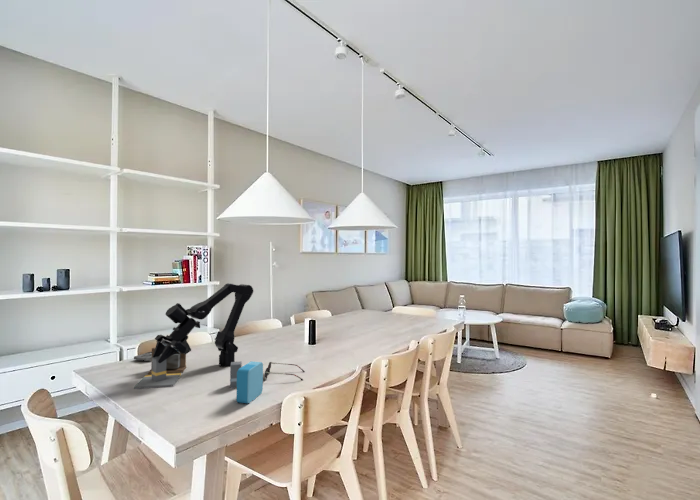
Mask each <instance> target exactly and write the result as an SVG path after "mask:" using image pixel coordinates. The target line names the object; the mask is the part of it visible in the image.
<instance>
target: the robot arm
mask: <svg viewBox="0 0 700 500" xmlns="http://www.w3.org/2000/svg"><path fill="white" fill-rule="evenodd" d="M232 293H234V303H233V305H232V307H231V310H230V313H229V315H228V318H227V320H226V323H225V326H224V328H223V329H222V330H221V331H217V333H216V336H215V337H214V344H215V345H214V346H215V347H216V348H217V351H219V352H220V353H219V355H218V365H219V367H230V365H231V362H236V361H235V360H236V358H235V357H236V355H235V354H236V353H237V352H238V350H239V347H238V346H237V345H236V344H235V343H234V342H235V330H236V328H237V325H238V323H239V320H240V317H241V315H242V312H243V309H244V306H245V304H246V303H247V302H248V301H249V300H250V299H251V297H252V295H253V293H254V288H253V286H252V285H250V284H243V283H241V284H234V283H225V284H224V285H223V286H222V287H221V288H220V289H219V290H217V291H216V292H214V293H213V294H212V295H210V296H209V297H208V298H207V299H205V300H203V301H200V302H197V303H196V304H194V305H192V306H191V307H190V308H187V309H186V308H184V307H183V306H182V304H181V303H176V304H174V305H172V306H171V307H169V308H168V309H167V310H166V312H165V314H164V315H165V316H166V317H168V318H169V319H170V320H171V321H172V322H173V323H174V324H178V325H177V326H176V327H175V326H174V327H173V328H172V332H171V333H170V334H169V335H168V334H166V336H165V335H164V334H163V335H162V334H157V336H156V337H155V338H154V340H156V343H155V344H156V345H155V347H154V348H155V351H154V354H153V357H158V356H160V355H161V356H160V358H159V360H158V363H161V362H163V361H164V360H166V359H167V358H169V357H170V356H172V355H174V354H180V353H181V354H184V355H186V356H187V354H188V353H190V352H192V348H191V346H190V344H189V342H188V339H189V334H190V333H191V332H192V331H193V329H194V328H197V329H201V320H204V319H205V318H207V317H208V315H209V314H210V313H211V311H212V310H213V308H214V307H216V306H217V305H218V304H220V302H222V301H223V300H224V299H225V298H226V297H228V296H229V295H231V294H232ZM195 319H196V320H197V321H196V320H195ZM198 320H200V321H198ZM179 352H180V353H179ZM153 357H152V358H153Z"/></svg>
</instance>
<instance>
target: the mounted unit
mask: <svg viewBox="0 0 700 500" xmlns="http://www.w3.org/2000/svg"><path fill="white" fill-rule="evenodd" d="M151 351H152V357H153V354H154V351H155V347H152V348H151ZM179 353H180V352H179ZM160 356H161V355H160ZM150 366H151V368H150V369H149V370H148V372H147V375H152V364H151V365H150ZM186 368H187V354H186V355H184V354H181V353H180V354H174V355H172V356H170V357H169V358H167V359H166V374H175V373H181V374H182V373H184V371H185V370H186Z"/></svg>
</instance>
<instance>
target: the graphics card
mask: <svg viewBox="0 0 700 500" xmlns="http://www.w3.org/2000/svg"><path fill="white" fill-rule="evenodd" d="M133 360H136V361H143V360H144V362H152V350H151V351H149V352H144V353H141V354H139V355H136V356H133Z"/></svg>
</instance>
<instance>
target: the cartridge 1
mask: <svg viewBox="0 0 700 500" xmlns="http://www.w3.org/2000/svg"><path fill="white" fill-rule="evenodd" d="M159 358H160V356H158V357H153V358H152V361H151V365H152V374H151V375H152V380H153V381H155V382H158V381H162V380H166V374H167V373H166V360H164V361H163V362H161V363H158V360H159Z"/></svg>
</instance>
